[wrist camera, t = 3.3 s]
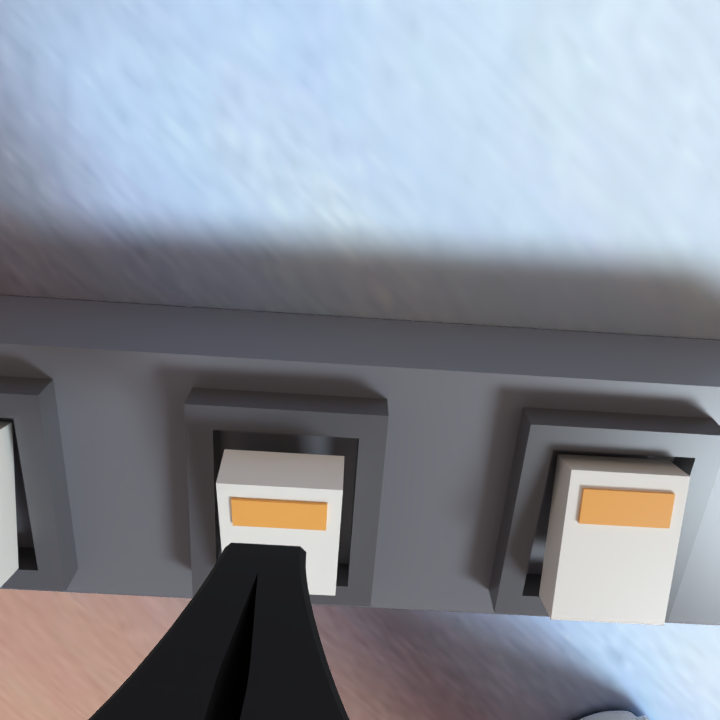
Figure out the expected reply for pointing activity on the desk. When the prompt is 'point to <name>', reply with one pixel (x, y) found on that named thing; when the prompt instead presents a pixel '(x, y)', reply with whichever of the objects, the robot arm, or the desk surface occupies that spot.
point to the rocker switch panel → (340, 444)
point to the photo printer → (614, 716)
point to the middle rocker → (284, 506)
